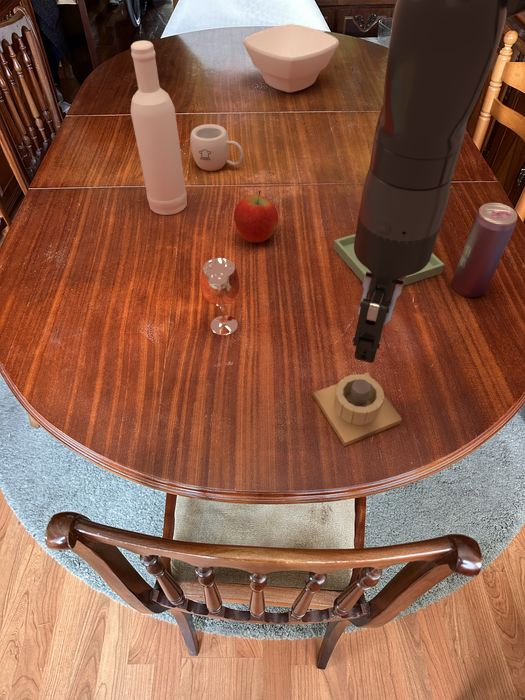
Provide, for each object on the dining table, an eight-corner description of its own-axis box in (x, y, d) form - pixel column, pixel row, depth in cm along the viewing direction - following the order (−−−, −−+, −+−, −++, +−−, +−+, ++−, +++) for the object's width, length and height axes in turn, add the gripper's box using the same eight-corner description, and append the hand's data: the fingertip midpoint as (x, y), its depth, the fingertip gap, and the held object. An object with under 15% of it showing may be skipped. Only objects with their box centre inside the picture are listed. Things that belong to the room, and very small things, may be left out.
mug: (187, 171, 113) (182, 137, 108) (201, 153, 119) (197, 120, 113) (237, 179, 111) (236, 145, 105) (249, 161, 116) (249, 127, 110)
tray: (396, 229, 99) (398, 221, 97) (441, 273, 90) (444, 264, 89) (333, 248, 95) (334, 240, 94) (373, 295, 87) (375, 287, 85)
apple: (229, 231, 99) (226, 185, 91) (267, 222, 101) (267, 176, 93) (243, 255, 94) (241, 209, 86) (283, 245, 96) (285, 199, 88)
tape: (364, 381, 73) (367, 368, 71) (389, 415, 70) (393, 402, 67) (325, 396, 72) (327, 383, 69) (348, 431, 68) (351, 419, 66)
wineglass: (221, 344, 80) (215, 287, 71) (199, 324, 83) (190, 267, 73) (249, 326, 82) (246, 269, 73) (226, 307, 85) (222, 250, 76)
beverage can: (490, 299, 86) (524, 224, 75) (455, 298, 86) (483, 224, 75) (481, 275, 90) (511, 201, 79) (447, 275, 90) (473, 201, 79)
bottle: (149, 217, 102) (116, 54, 79) (148, 196, 107) (117, 37, 84) (189, 213, 103) (167, 51, 80) (186, 192, 108) (165, 34, 85)
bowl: (234, 84, 144) (232, 39, 135) (289, 64, 154) (291, 20, 145) (289, 110, 133) (291, 62, 125) (345, 86, 143) (350, 40, 134)
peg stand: (366, 376, 75) (372, 352, 71) (401, 423, 70) (409, 400, 66) (312, 396, 73) (315, 372, 69) (344, 446, 68) (349, 424, 63)
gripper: (429, 269, 42) (392, 387, 54) (451, 182, 50) (415, 300, 63) (340, 250, 43) (324, 368, 56) (377, 168, 52) (355, 286, 64)
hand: (372, 332), depth 59 cm, fingers open, 8 cm apart
